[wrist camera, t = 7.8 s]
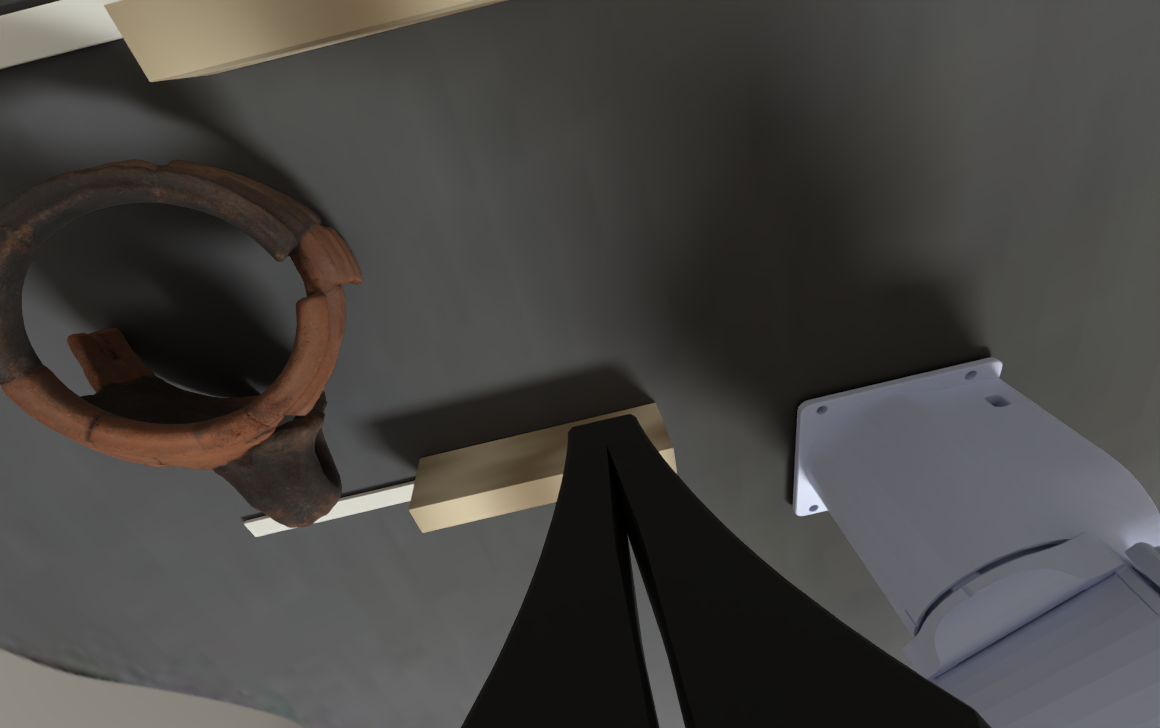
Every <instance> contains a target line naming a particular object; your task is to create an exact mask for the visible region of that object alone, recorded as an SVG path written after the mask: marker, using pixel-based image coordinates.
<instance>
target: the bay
mask: <svg viewBox="0 0 1160 728" xmlns="http://www.w3.org/2000/svg"><path fill="white" fill-rule="evenodd" d="M118 1H122V0H60V1H56V2H52V3H48V4H44V5H41V6H37V7H33V8H29V9H25V10H21V11H17V12H13V13H9V14H5V15H1V16H0V69H4V68H8V67H11V66H15V65H19V64H23V63H27V62H31V61H35V60H39V59H43V58H47V57H51V56H55V55H59V54H63V53H67V52H71V51H75V50H78V49H82V48H86V47H90V46H94V45H98V44H102V43H106V42H110V41H114V40H118V39H122V38H123V37H122V35H121V33H120V32H119V30H118V28H117V27H116V25H115V23H114V22H113V20H112V19H111V17H110V15H109V14H108V12H107V10H106V9H105V7H104V5H106V4H110V3H114V2H118ZM414 483H415V481H411V482H407V483H403V484H398V485H394V486H390V487H386V488H381V489H377V490H373V491H369V492H364V493H360V494H356V495H352V496H347V497H343V498H339V500H338V501H337V504H336V505H335V506H334V507H333V508H332V510H331V511H330V512H329V513H328V514H327V515H325V516H323V517H321V518H319V519H318V520H317V521H315V522H314V523H318V522H322V521H326V520H330V519H335V518H339V517H343V516H348V515H352V514H356V513H360V512H365V511H369V510H373V509H377V508H382V507H386V506H390V505H394V504H399V503H403V502H407V501H411V497H412V492H413V488H414ZM244 525H245V526H246V527H247V528H248V529H249V530H250V531H251V533H252V534H253V535H254V536H255V537H258V536H262V535H267V534H271V533H275V532H279V531H284V530H288V529H292V528H289V527H286V526H285V525H282V524H280V523H278V522H276V521H274V520H273V519H271V518H270V517H269V516H263V517H258V518H254V519H250V520H246V521H245V522H244ZM295 528H296V527H295Z"/></svg>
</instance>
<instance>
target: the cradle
mask: <svg viewBox="0 0 1160 728" xmlns="http://www.w3.org/2000/svg"><path fill="white" fill-rule="evenodd" d="M503 1H507V0H122V1H118V2H114V3H110V4H106V5H104V7H105V9H106V10H107V12H108V14H109V15H110V17H111V19H112V20H113V22H114V23H115V25H116V27H117V28H118V30H119V32H120V33H121V35H122V37H123V38H124V40H125V42H126V43H127V45H128V47H129V48H130V50H131V52H132V53H133V55H134V57H135V58H136V60H137V62H138V63H139V65H140V66H141V68H142V70H143V71H144V73H145V75H146V76H147V78H148V80H149V81H150V82H156V81H164V80H172V79H180V78H189V77H197V76H205V75H213V74H217V73H221V72H225V71H229V70H233V69H237V68H241V67H245V66H249V65H253V64H257V63H261V62H265V61H269V60H273V59H277V58H281V57H285V56H289V55H293V54H297V53H301V52H305V51H308V50H312V49H316V48H320V47H324V46H328V45H332V44H336V43H340V42H344V41H348V40H352V39H356V38H360V37H364V36H368V35H372V34H376V33H380V32H384V31H388V30H392V29H396V28H400V27H404V26H408V25H412V24H416V23H420V22H424V21H428V20H432V19H436V18H440V17H444V16H448V15H451V14H455V13H459V12H463V11H467V10H471V9H475V8H479V7H483V6H487V5H491V4H495V3H499V2H503ZM626 414H632V415H634V416H635V417H636V418H637V420H638V422H639V423H640V425H641V427H642V428H643V430H644V432H645V433H646V435H647V436H648V438H649V439H650V441H651V442H652V444H653V445H654V446H655V448H656V449H657V450H658V452H659V453H660V454H661V456H662V457H663V458H664V459H665V461H666V462H667V463H668V464H669V466H670V467H671V468H672V469H673V470H674V472H675V473H676V474H677V470H676V463H675V456H674V449H673V446H672V443H671V441H670V438H669V436H668V433H667V430H666V428H665V425H664V423H663V420H662V418H661V415H660V413H659V410H658V408H657V405H656V403H652V404H648V405H643V406H639V407H635V408H631V409H626V410H622V411H618V412H614V413H610V414H605V415H601V416H597V417H593V418H588V419H584V420H580V421H576V422H571V423H567V424H563V425H559V426H555V427H550V428H546V429H542V430H538V431H533V432H529V433H525V434H521V435H516V436H512V437H508V438H504V439H499V440H495V441H491V442H487V443H483V444H478V445H474V446H470V447H466V448H461V449H457V450H453V451H449V452H444V453H440V454H436V455H432V456H428V457H423V458H420V460H419V465H418V469H417V474H416V478H415V483H414V488H413V492H412V497H411V501H410V506H409V511H410V513H411V515H412V516H413V518H414V520H415V521H416V523H417V525H418V526H419V528H420V530H421V531H422V533H425V532H429V531H433V530H437V529H442V528H446V527H450V526H454V525H459V524H463V523H467V522H472V521H476V520H480V519H484V518H489V517H493V516H497V515H502V514H506V513H510V512H514V511H519V510H523V509H527V508H532V507H536V506H540V505H544V504H549V503H553V502H557V498H558V494H559V490H560V486H561V482H562V477H563V472H564V466H565V460H566V453H567V444H568V432H569V430H570V429H571V428H572V427H574V426H579V425H583V424H587V423H592V422H596V421H600V420H605V419H609V418H613V417H618V416H622V415H626ZM608 453H609V452H608Z"/></svg>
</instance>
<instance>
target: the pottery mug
mask: <svg viewBox="0 0 1160 728" xmlns="http://www.w3.org/2000/svg"><path fill="white" fill-rule="evenodd" d="M130 203H166V204H171V205H176V206H181V207H186V208H191V209H194V210H198V211H201V212H204V213H207V214H210V215H213V216H215V217H217V218H219V219H222V220H224V221H226V222H228V223H230V224H232V225H233V226H235V227H237V228H238V229H240V230H241V231H243V232H244V233H246V234H247V235H249V236H250V237H252V238H253V239H254V240H255V241H257V242H258V243H259V244H260V245H261V246H262V247H263V248H264V249H265V250H266V251H267V252H268V253H269V254H270V255H271V256H272V257H273V258H274V259H275V260H276V261H278V262H282V261H283V260H284V259H285V258H286V257H287V256H290V257H291V259H292V261H293V262H294V265H295V266H296V268H297V270H298V272H299V273H300V275H301V277H302V279H303V281H304V285H305V289H306V293H307V297H305V298H302V299H300V300H299V301H297V303H296V314H297V329H296V337H295V343H294V347H293V351H292V354H291V356H290V358H289V360H288V362H287V364H286V366H285V367H284V369H283V371H282V372H281V374H280V375H279V376H278V378H277V379H276V380H275V381H274V383H273V384H272V385H271V386H270V387H269V388H268V389H267V390H266V391H265V392H263V393H262V394H261V395H253V396H246V397H239V398H219V397H211V396H206V395H201V394H197V393H194V392H189V391H185V390H182V389H180V388H177V387H175V386H173V385H171V384H169V383H167V382H165V381H164V380H162V379H160V378H158V377H156V376H155V374H154V373H153V372H152V371H151V370H150V369H148V368H147V367H146V366H145V364H144V363H143V362H142V361H141V360H140V359H139V357H138V356H137V355H136V354H135V353H134V352H133V350H132V349H131V347H130V346H129V344H128V343H127V341H126V339H125V338H124V336H123V334H122V333H121V331H120V330H118V329H117V328H110V329H105V330H100V331H96V332H93V333H90V334H86V333H79V334H73V335H70V336H69V337H68V338H67V341H68V345H69V347H70V349H71V351H72V353H73V354H74V356H75V357H76V359H77V360H78V362H79V363H80V365H81V367H82V368H83V370H84V373H85V376H86V378H87V379H88V381H89V383H90V385H91V386H92V388H93V389H94V390H95V391H96V394H94V395H87V396H81V397H79V396H78V395H76V394H75V393H74V392H72V391H71V390H70V389H69V388H67V387H66V386H65V385H64V384H63V383H62V382H61V381H60V380H59V379H58V378H57V377H56V376H55V375H54V373H53V372H52V371H51V370H49V369H48V368H47V367H46V366H44V365H43V364H42V363H41V361H40V359H39V358H38V356H37V355H36V353H35V351H34V349H33V348H32V346H31V343H30V341H29V339H28V336H27V334H26V330H25V327H24V321H23V316H22V288H23V284H24V279H25V276H26V274H27V270H28V268H29V266H30V264H31V262H32V260H33V258H34V256H35V253H36V251H37V250H38V249H39V248H40V247H41V246H42V245H43V244H44V243H45V242H46V241H47V240H48V239H49V238H50V237H52V236H53V235H54V234H55V233H56V232H57V231H59V230H60V229H62V228H63V227H65V226H67V225H68V224H69V223H71V222H72V221H74V220H76V219H78V218H80V217H82V216H84V215H86V214H89V213H91V212H94V211H97V210H101V209H104V208H108V207H112V206H117V205H121V204H130ZM361 282H362V272H361V269H360V267H359V265H358V263H357V261H356V259H355V257H354V255H353V254H352V252H351V250H350V249H349V247H348V245H347V243H346V242H345V241H344V240H343V239H342V237H340V236H339V235H338V234H337V232H336V231H335V230H334V229H333V228H332V227H324V226H323V225H322V224H321V219H320V218H319V216H318V215H317V214H316V213H315V212H314V211H313V210H312V209H310V208H309V207H307V206H305V205H303V204H301V203H299V202H298V201H296V200H294V199H292V198H291V197H289V196H287V195H285V194H283V193H281V192H278V191H276V190H274V189H272V188H270V187H268V186H266V185H264V184H262V183H259V182H257V181H255V180H252V179H250V178H248V177H245V176H242V175H239V174H237V173H233V172H231V171H227V170H225V169H221V168H217V167H213V166H207V165H203V164H199V163H194V162H189V161H183V160H173V161H171V162H170V163H169V164H168V165H166V166H160V165H155V164H152V163H149V162H147V161H144V160H127V161H122V162H114V163H108V164H104V165H100V166H97V167H94V168H89V169H85V170H79V171H73V172H68V173H64V174H61V175H58V176H55V177H52V178H49V179H48V180H46V181H44V182H42V183H39V184H36V185H33V186H32V187H30V188H29V189H27V190H24V191H23V192H22V193H20V194H18V195H17V196H15V197H14V199H13V200H11V201H10V202H8V203H6V204H5V205H3V206H1V207H0V384H1V386H2V389H3V390H4V392H5V393H6V395H7V396H9V397H10V398H11V399H12V400H13V401H14V402H15V403H16V404H17V405H18V406H19V407H20V408H22V409H23V410H24V411H25V412H26V413H28V414H29V415H31V416H32V417H34V418H35V419H37V420H38V421H39V422H41V423H42V424H44V425H46V426H47V427H49V428H51V429H53V430H55V431H57V432H59V433H61V434H63V435H65V436H67V437H69V438H71V439H73V440H75V441H77V442H79V443H81V444H83V445H85V446H87V447H89V448H92V449H94V450H97V451H99V452H101V453H104V454H107V455H109V456H113V457H116V458H119V459H122V460H125V461H130V462H134V463H141V464H145V465H147V466H152V467H170V466H171V467H175V466H180V467H183V468H190V469H203V470H214V471H215V473H217V474H218V475H220V476H221V477H223V478H224V479H225V480H226V481H228V482H229V483H230V484H231V485H232V486H233V487H234V488H235V489H236V490H237V491H238V492H239V493H240V494H241V495H242V496H243V497H244V498H245V500H246V501H247V502H248V503H249V504H250V505H251V506H252V507H253V508H255V509H257V510H259V511H261V512H262V513H264V514H266V515H267V516H269V517H270V518H271V519H273V520H274V521H276V522H278V523H280V524H282V525H285V526H286V527H289V528H295V527H307V526H310V525H312V524H313V523H314V522H315V521H317V520H318V519H319V518H321V517H323V516H325V515H327V514H328V513H329V512H330V511H331V510H332V508H333V507H334V506H335V505H336V504H337V501H338V500H339V498H340V497H341V493H342V484H341V479H340V475H339V473H338V471H337V468H336V466H335V463H334V460H333V458H332V456H331V453H330V451H329V448H328V446H327V444H326V441H325V439H324V436H323V432H322V428H321V426H322V424H323V422H324V417H325V414H324V409H325V407H326V405H327V401H326V397H325V392H324V391H323V390H324V387H325V385H326V383H327V381H328V380H329V378H330V376H331V374H332V372H333V370H334V367H335V363H336V359H337V356H338V353H339V348H340V344H341V342H342V338H343V335H344V330H345V320H346V308H345V295H344V291H343V289H342V285H344V284H347V283H352V284H356V285H358V284H360V283H361Z"/></svg>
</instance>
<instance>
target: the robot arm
mask: <svg viewBox="0 0 1160 728" xmlns="http://www.w3.org/2000/svg"><path fill="white" fill-rule="evenodd" d="M1001 370H1002V363H1001V362H1000V361H999V360H997V359H996V358H993V357H990V358H985V359H981V360H977V361H972V362H968V363H964V364H960V365H955V366H951V367H947V368H942V369H938V370H934V371H930V372H925V373H921V374H917V375H913V376H908V377H904V378H900V379H896V380H891V381H887V382H883V383H879V384H874V385H870V386H866V387H862V388H857V389H853V390H849V391H845V392H840V393H836V394H832V395H828V396H823V397H819V398H815V399H811V400H807V401H804V402H803V403H802V404H801V405H800V406H799V407H798V410H797V428H796V449H795V469H794V489H793V510H794V512H795V514H796V515H798V516H805V515H810V514H814V513H818V512H823V511H827V510H828V511H829V512H830V514H831V515H832V517H833V518H834V520H835V521H836V523H837V524H838V526H839V527H840V529H841V530H842V532H843V533H844V535H845V536H846V538H847V539H848V541H849V542H850V544H851V545H852V547H853V548H854V550H855V551H856V553H857V554H858V556H859V557H860V559H861V560H862V562H863V563H864V565H865V566H866V568H867V569H868V571H869V572H870V574H871V575H872V577H873V578H874V580H875V581H876V583H877V584H878V586H879V587H880V589H881V590H882V591H883V593H884V594H885V596H886V597H887V599H888V600H889V602H890V603H891V605H892V606H893V608H894V609H895V611H896V612H897V614H898V615H899V617H900V618H901V620H902V621H903V623H904V624H905V626H906V627H907V629H908V630H909V632H910V633H911V635H912V636H913V639H912V640H911V641H910V642H909V643H907V644H906V645H905V646H903V647H902V650H903V652H904V654H905V655H906V657H907V658H908V660H909V661H910V663H911V665H912V666H913V668H914V669H915V671H916V672H915V671H914V670H912V669H910V668H909V667H907V666H906V665H904V664H903V663H901V662H900V661H898V660H897V659H895V658H894V657H892V656H891V655H889V654H888V653H886V652H885V651H883V650H882V649H880V648H879V647H877V646H876V645H875V644H873V643H872V642H870V641H869V640H867V639H866V638H864V637H863V636H862V635H860V634H859V633H857V632H856V631H854V630H853V629H851V628H850V627H849V626H847V625H846V624H844V623H843V622H842V621H840V620H839V619H838V618H836V617H835V616H834V615H832V614H831V613H830V612H828V611H827V610H826V609H824V608H823V607H822V606H820V605H819V604H818V603H816V602H815V601H814V600H812V599H811V598H810V597H809V596H807V595H806V594H805V593H803V592H802V591H801V590H799V589H798V588H797V587H795V586H794V585H793V584H791V583H790V582H789V581H788V580H786V579H785V578H784V577H783V576H781V575H780V574H779V573H778V572H777V571H775V570H774V569H773V568H772V567H771V566H769V565H768V564H767V563H766V562H765V561H764V560H762V559H761V558H760V557H759V556H758V555H757V554H755V553H754V552H753V551H752V550H751V549H750V548H749V547H748V546H746V545H745V544H744V543H743V542H742V541H741V540H740V539H739V538H738V537H736V536H735V535H734V534H733V533H732V532H731V531H730V530H729V529H728V528H727V527H726V526H725V525H724V524H723V523H722V522H721V521H720V520H719V519H718V518H717V517H716V516H715V515H714V514H713V513H712V512H711V511H710V510H709V509H708V508H707V507H706V506H705V505H704V504H703V503H702V502H701V501H700V500H699V499H698V498H697V497H696V495H695V494H694V493H693V492H692V491H691V490H690V489H689V488H688V487H687V486H686V484H685V483H684V482H683V481H682V480H681V479H680V477H679V476H678V475H677V474H676V473H675V472H674V470H673V469H672V468H671V467H670V466H669V464H668V463H667V462H666V461H665V459H664V458H663V457H662V456H661V454H660V453H659V452H658V450H657V449H656V448H655V446H654V445H653V444H652V442H651V441H650V439H649V438H648V436H647V435H646V433H645V432H644V430H643V428H642V427H641V425H640V423H639V422H638V420H637V418H636V417H635V416H634V415H632V414H626V415H622V416H618V417H613V418H609V419H605V420H600V421H596V422H592V423H587V424H583V425H579V426H574V427H572V428H571V429H570V430H569V432H568V444H567V453H566V460H565V466H564V472H563V477H562V482H561V486H560V490H559V494H558V498H557V502H556V507H555V511H554V514H553V518H552V521H551V524H550V528H549V531H548V534H547V537H546V540H545V544H544V547H543V550H542V553H541V556H540V559H539V562H538V565H537V567H536V570H535V573H534V576H533V578H532V581H531V584H530V586H529V589H528V591H527V593H526V596H525V598H524V601H523V603H522V606H521V608H520V611H519V613H518V615H517V617H516V619H515V622H514V624H513V626H512V628H511V631H510V633H509V635H508V637H507V639H506V642H505V644H504V646H503V648H502V650H501V652H500V654H499V656H498V658H497V661H496V663H495V665H494V667H493V669H492V671H491V673H490V675H489V676H488V678H487V680H486V682H485V684H484V686H483V688H482V689H481V691H480V693H479V695H478V697H477V699H476V701H475V702H474V704H473V706H472V708H471V710H470V712H469V714H468V716H467V717H466V719H465V721H464V723H463V725H462V727H461V728H659V723H658V719H657V714H656V710H655V705H654V700H653V696H652V691H651V687H650V682H649V677H648V673H647V668H646V663H645V657H644V651H643V645H642V639H641V632H640V624H639V617H638V609H637V602H636V594H635V587H634V580H633V572H632V565H631V557H630V550H629V543H628V537H629V540H630V543H631V546H632V549H633V552H634V555H635V558H636V561H637V564H638V567H639V570H640V573H641V576H642V579H643V582H644V585H645V588H646V591H647V594H648V597H649V600H650V603H651V606H652V609H653V612H654V615H655V618H656V621H657V624H658V627H659V630H660V633H661V636H662V639H663V643H664V646H665V649H666V653H667V656H668V660H669V663H670V667H671V672H672V676H673V680H674V684H675V688H676V692H677V696H678V700H679V704H680V708H681V712H682V716H683V720H684V724H685V728H1160V514H1159V512H1158V510H1157V508H1156V506H1155V504H1154V503H1153V501H1152V500H1151V498H1150V496H1149V495H1148V494H1147V492H1146V491H1145V489H1144V488H1143V487H1142V485H1141V484H1140V483H1139V482H1138V481H1137V480H1136V478H1135V477H1134V476H1133V475H1132V474H1131V473H1130V472H1129V471H1128V470H1127V469H1126V468H1125V467H1124V466H1123V465H1121V464H1120V463H1119V462H1118V461H1116V460H1115V459H1114V458H1112V457H1111V456H1110V455H1108V454H1107V453H1106V452H1104V451H1103V450H1101V449H1100V448H1098V447H1097V446H1096V445H1094V444H1093V443H1091V442H1090V441H1088V440H1087V439H1085V438H1084V437H1083V436H1081V435H1080V434H1078V433H1077V432H1075V431H1074V430H1073V429H1071V428H1070V427H1068V426H1067V425H1065V424H1064V423H1063V422H1061V421H1060V420H1058V419H1057V418H1055V417H1054V416H1053V415H1051V414H1050V413H1048V412H1047V411H1045V410H1044V409H1042V408H1041V407H1040V406H1038V405H1037V404H1035V403H1034V402H1032V401H1031V400H1030V399H1028V398H1027V397H1025V396H1024V395H1022V394H1021V393H1020V392H1018V391H1017V390H1015V389H1014V388H1012V387H1011V386H1009V385H1008V384H1007V383H1005V382H1004V381H1002V380H1001V379H999V376H1000V373H1001ZM821 406H822V407H821ZM819 407H821V408H820V409H818V408H819ZM608 452H609V453H608ZM627 534H628V535H627Z"/></svg>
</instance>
